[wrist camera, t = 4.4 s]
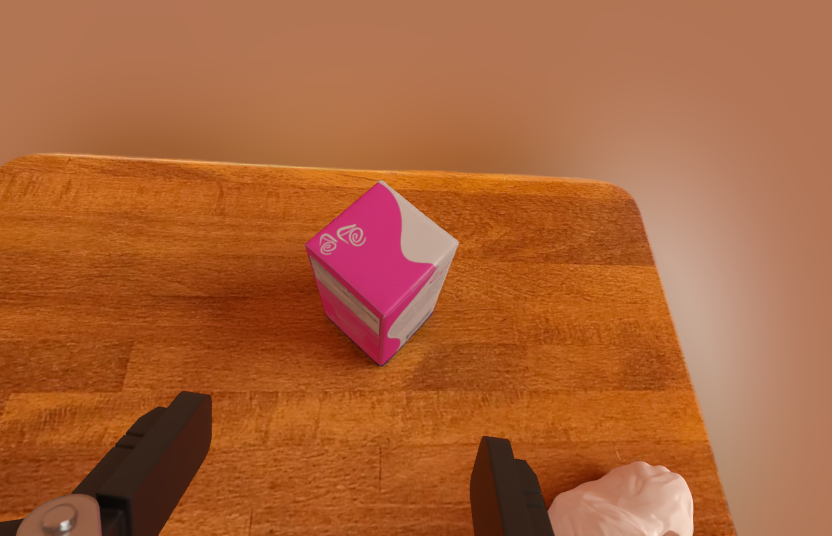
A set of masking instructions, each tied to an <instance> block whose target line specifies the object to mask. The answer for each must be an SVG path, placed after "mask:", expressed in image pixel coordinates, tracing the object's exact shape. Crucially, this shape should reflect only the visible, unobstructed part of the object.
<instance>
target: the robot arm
mask: <svg viewBox="0 0 832 536" xmlns="http://www.w3.org/2000/svg"><path fill="white" fill-rule="evenodd" d="M211 437H212V399H211V396H210V395H208V394H201V393H194V392H187V391H182V392H181V393H179V395H178V396H177V397H176V398H175V399H174V400H173V402H172V403H171V404H170V405H169V406H168V408H165V407H156V408H155V409H153V410H151V411H150V412H148V413H146V414H145V415H143V416H142V417H140V418H139V419H138V420H137V421H136V422H135V423H134V424H133V425H132V427H131V428H130V429H129V430H128V431H127V432H126V435H123V437H122V438H121V439H120V440H119V441H118V442H117V443H116V446H115V447H113V448H112V449H111V450H110V451H109V452H108V453H107V454H106V455H105V457H104V458H103V459H102V460H101V461H100V462H99V463H98V464H97V465H96V467H95V468H94V469H93V470H92V471H91V472H90V473H89V474H88V475H87V477H86V478H85V479H84V480H83V481H82V482H81V483H80V484H79V485H78V487H77V488H76V489H75V490H74V491H73V492H72V493H71V494H69V495H64V496H60V497H57V498H54V499H52V500H50V501H48V502H46V503H44V504H42V505H40V506H39V507H37V508H36V509H35V510H33V511H32V512H31V513H30V514H29V515H28V516H27V517H26V518H24V519H19V520H12V521H5V522H0V536H158V535H159V533H160V532H161V530H162V528H163V527H164V525H165V523H166V522H167V520H168V518H169V517H170V515H171V514H172V512H173V510H174V509H175V507H176V505H177V504H178V502H179V500H180V499H181V497H182V496H183V494H184V492H185V491H186V489H187V487H188V486H189V484H190V482H191V481H192V479H193V478H194V476H195V474H196V473H197V471H198V469H199V468H200V466H201V465H202V463H203V461H204V460H205V458H206V456H207V453H208V450H209V447H210V443H211ZM470 502H471V510H472V518H473V526H474V535H475V536H555V535H554V531H553V528H552V525H551V522H550V518H549V515H548V512H547V509H546V508H545V502H544V499H543V495H541V489H540V486H539V482H538V479H537V476H536V474H535V473H534V472H533V470H532V469H531V468H530V466H529V465H528V464H527V462H526V461H525V460H519V459H514V456H513V452H512V448H511V444H510V441H509V440H508V439H503V438H496V437H489V436H483V437H482V439H481V442H480V446H479V449H478V453H477V456H476V460H475V464H474V467H473V471H472V475H471V480H470Z"/></svg>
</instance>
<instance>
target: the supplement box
mask: <svg viewBox="0 0 832 536" xmlns="http://www.w3.org/2000/svg"><path fill="white" fill-rule="evenodd" d="M458 244H459V242H458V241H457V240H456V239H455V238H453V237H452V236H451V235H449V234H448V233H447V232H446V231H444V230H443V229H442V228H440V227H439V226H438V225H437V224H435V223H434V222H433V221H431V220H430V219H429V218H428V217H426V216H425V215H424V214H423V213H421V212H420V211H419V210H418V209H416V208H415V207H414V206H413V205H412V204H410V203H409V202H408V201H407V200H406V199H404V198H403V197H402V196H401V195H399V194H398V193H397V192H396V191H395V190H393V189H392V188H391V187H390V186H388V185H387V184H386V183H385V182H384V181H382V180H380V181H379V182H378V183H377V184H375V185H374V186H373V187H372V188H370V189H369V190H368V191H367V192H366V193H365V194H364V195H362V196H361V197H360V198H359V199H358V200H356V201H355V202H354V203H353V204H352V205H351V206H349V207H348V208H347V209H346V210H345V211H344V212H342V213H341V214H340V215H339V216H338V217H337V218H335V219H334V220H333V221H332V222H331V223H329V224H328V225H327V226H326V227H325V228H323V229H322V230H321V231H320V232H319V233H318V234H316V235H315V236H314V237H313V238H312V239H311V240H309V241H308V242H307V243H306V244H305V247H306V251H307V254H308V257H309V261H310V264H311V267H312V271H313V274H314V277H315V280H316V284H317V287H318V290H319V293H320V297H321V300H322V303H323V307H324V310H325V313H326V316H327V317H328V318H329V319H330V320H331V321H332V322H333V323H334V324H335V325H336V326H337V327H338V328H339V329H340V330H341V331H343V332H344V333H345V334H346V335H347V336H348V337H349V338H350V339H351V340H352V341H353V342H354V343H355V344H356V345H357V346H358V347H359V348H360V349H361V350H362V351H364V352H365V353H366V354H367V355H368V356H369V357H370V358H371V359H372V360H373V361H374V362H375V363H376V364H378V365H379V366H381V367H382V366H383V365H384V364H386V363H387V362H388V361H389V360H390V359H391V358H392V357H393V356H394V355H395V354H396V353H397V351H398V350H399V349H400V348H401V347H402V346H403V345H404V344H405V343H406V342H407V341H408V340H409V339H410V338H411V337H412V336H413V334H414V333H415V332H416V331H417V330H418V329H419V328H420V327H421V326H422V325H423V324H424V322H425V321H426V320H427V319H428V318H429V317H430V316H431V315H432V313H433V309H434V307H435V304H436V301H437V298H438V296H439V293H440V291H441V288H442V285H443V283H444V280H445V278H446V275H447V273H448V270H449V267H450V264H451V262H452V259H453V257H454V254H455V251H456V249H457V246H458Z"/></svg>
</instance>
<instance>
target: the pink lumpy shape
mask: <svg viewBox="0 0 832 536" xmlns="http://www.w3.org/2000/svg"><path fill="white" fill-rule="evenodd" d="M547 512H548V515H549V518H550V522H551V525H552V528H553V531H554V535H555V536H692V535H693V501H692V496H691V493H690V490H689V488H688V486H687V484H686V482H685V480H684V479H683V477H682V476H681V475H679V474H677V473H672V472H670V471H669V470H668V469H667V468H666V467H664V466H661V465H658V466H651V465H649V464H647V463H646V462H642V461H636V462H632V463H630V464H629V465H624V466H620V467H617V468H614V469H613V470H611V471H610V472H609V473H608V474H606V475H605V476H603V477H602V478H600V479H598V480H596V481H589V482H586V483H583V484H581V485H578V486H577V487H575V488H574V489H572V490H569V491H566V492H562V493H560V494H559V495H558V496H556V497H555V499H554V501H553V503H552V505H551V506H550V508H549V510H548V511H547Z"/></svg>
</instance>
